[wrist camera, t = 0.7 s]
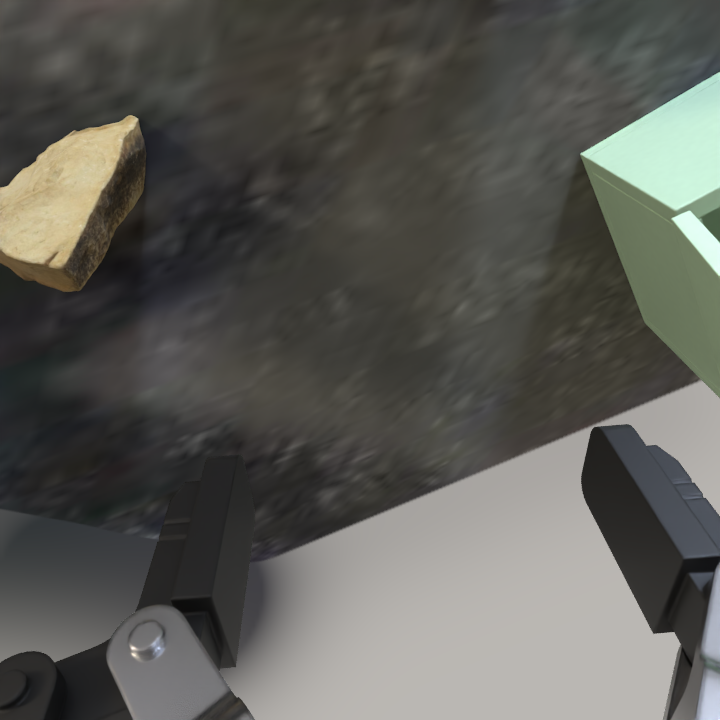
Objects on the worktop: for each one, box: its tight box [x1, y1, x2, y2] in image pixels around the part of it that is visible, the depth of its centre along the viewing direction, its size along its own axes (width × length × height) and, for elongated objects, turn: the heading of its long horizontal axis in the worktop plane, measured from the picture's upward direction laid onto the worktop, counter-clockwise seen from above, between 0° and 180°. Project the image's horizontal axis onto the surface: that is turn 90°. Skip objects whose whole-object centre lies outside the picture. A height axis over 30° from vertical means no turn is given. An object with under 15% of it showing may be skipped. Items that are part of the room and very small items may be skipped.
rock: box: [0, 115, 146, 292], centre depth 30 cm, size 11×9×10 cm
